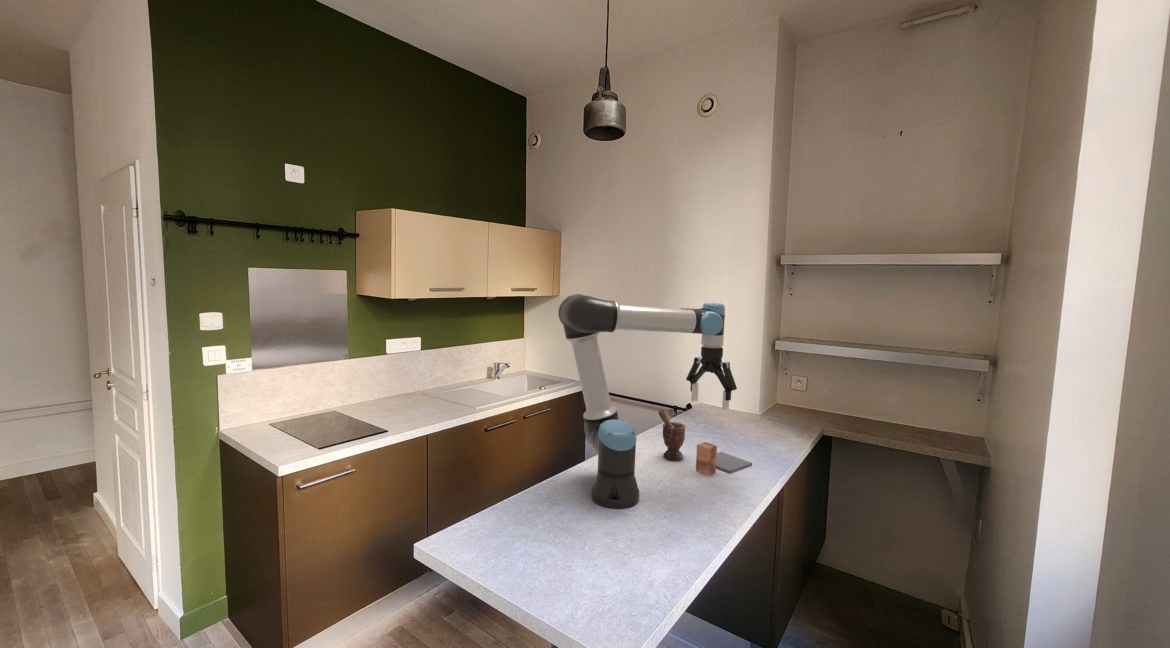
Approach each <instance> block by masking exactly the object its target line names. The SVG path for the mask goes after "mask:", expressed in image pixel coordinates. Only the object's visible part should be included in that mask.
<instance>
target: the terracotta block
mask: <svg viewBox="0 0 1170 648" xmlns="http://www.w3.org/2000/svg"><path fill="white" fill-rule="evenodd" d="M717 451H718V446H717V445H715V444H713V443H710V442H708V441H707V442H706V441H705V442H702V443H697V444H696V459H695V472H697V473H700V474H702V475H704V476H706V477H707V476H710V475H713V474H716V471H717V470H716V469H717V468H716V456H717V453H718V452H717Z"/></svg>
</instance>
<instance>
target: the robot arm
mask: <svg viewBox="0 0 1170 648" xmlns="http://www.w3.org/2000/svg"><path fill="white" fill-rule="evenodd" d="M725 308H726V307H725V304H724V303H721V302H705V303H703V304H702V308H689V307H686V308H684V307H680V308H671V307H655V306H640V305H631V304H630V305H627V304H618V303H617V301H615V300H607V299H601V298H597V297H595V296H590V295H584V294H580V293H578V294H577V293H576V294H572V295H569V296H567V297H565V298H564V299H563V300H562V301H561V302H560V303H559V306H558V309H557V310H558V311H557V312H558V313H557V314H558V315H557V316H558V318H559V321H560V322H561V324H562V327H563V330H564V335H565V340H567V341H569V342H570V343H571V344H572V349H573V355H574V359H575V363H576V368H577V372H578V376H579V382H580V387H581V392H582V394H583V395H582V397H583V400H584V404H585V409H586V410H585V411H584V413H583V416H582V417H583V421H584V426H583V431H584V435H585V439H586V440H587V442H588V443H589V444H590V445H591V446H592V447H593V448H594V449H595V451H596V452H597V457H598V458H597V474H596V476H595V481H594V483H593V485H592V487H591V495H590V497H591V499H592V501H593V502H594V503H596V504H598V505H599V506H602V507H604V508H605V507H606V508H612V509H626V508H630V507H633V506H635V505H636V504H638V503H639V501H640V490H639V486H638V483H637V479H636V475H635V473H636V472H635V471H636V469H635V467H636V453H637V452H636V449H637V431H636V428H635V427H634V426H633V425H632V424H631V423H630V422H628V421H624V420H621V419H620V418H619V415H618V414H619V413H618V410H617V407H616V406H614V405H613V404H612V402H611V397H610V393H609V388H608V384H607V379H606V374H605V370H604V369H605V368H604V364H603V360H602V356H601V349H600V346H599V342H598V337H599V334H600V333H614V332H615V331H617V330H625V331H644V332H647V331H648V332H661V333H662V332H665V333H681V334H683V333H685V334H696V335H697V334H701V340H700V341H701V342H700V343H701V345H702V346H701V348H700V350H701V351H700V356H696V357H694V359H693V364H692V365H691V367H690V370H689V372H688V374H687V376H686V379H685V380H686V381H688V382H689V383H690V392H691V402H697V401H699V399H698V398H699V383H698V381H699V380H700V379H701V378H702V377H703V375H704V374H705V373H711V374H714V375H715V376H716V378H717V379H718V380H719V382H720V384H721V385H722V387H723V389H724V390H723V391H722V400H721V401H722V406H721V410H723V411H726V410H728V409H730V401H731V399H732V391H736V390H737V389H738V388H737V385H736V382H735V379H734V376H733V373H732V370H731V363H730V362H729V361H727V362H726V361H725V362H723V361H722V359H723V356H724V348H723V346H724V338H725V337H724V335H725V333H724V331H725V319H726V312H725V311H726V309H725Z"/></svg>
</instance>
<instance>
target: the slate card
mask: <svg viewBox="0 0 1170 648" xmlns="http://www.w3.org/2000/svg"><path fill="white" fill-rule="evenodd" d="M752 466H753V462H750V461H747V460H745V459H742V458H740V457H737V456H734V455H732V454H729V453H726V452H723V451H720V452H719V451H718V452H717V456H716V469H717V470H719V471H721V472H724V473H727V474H733V473H735V472H738V471H740V470H744V469H746V468H749V467H752Z"/></svg>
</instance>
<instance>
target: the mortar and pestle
mask: <svg viewBox="0 0 1170 648" xmlns="http://www.w3.org/2000/svg"><path fill="white" fill-rule="evenodd" d="M658 415H659V418H660V419H661V420H662V421H663V424H662V439H663V443H664V445H665V447H666V448H667V450H666V451H665V452H664V453H663V458H665V459H666V460H668V461H681V460H683V458H684V454H683V453H682V452H681V451H680V449H681V448H682V446H683V445H684V442H685V437H686V425H685V424H684V423H682V422H676V421H671V420H670V418H669V416H668V413H667V411H666V410H665V409H659V410H658Z"/></svg>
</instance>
